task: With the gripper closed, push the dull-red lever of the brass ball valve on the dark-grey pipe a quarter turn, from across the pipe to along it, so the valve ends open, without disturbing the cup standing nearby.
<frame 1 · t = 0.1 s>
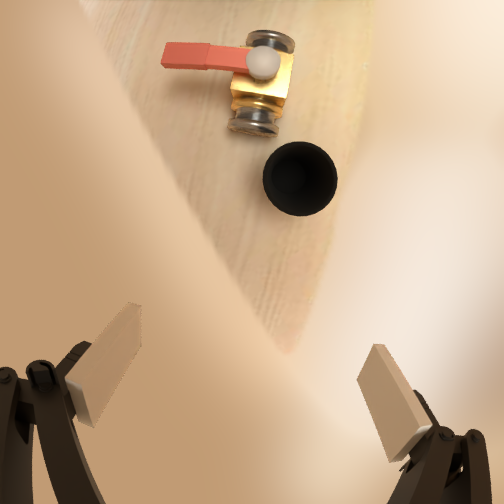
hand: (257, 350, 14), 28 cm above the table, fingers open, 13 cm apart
valve body: (261, 89, 35), on the table
lever: (220, 57, 25), point 11 cm above the table, hinge at 0.0°
cup: (288, 176, 39), on the table
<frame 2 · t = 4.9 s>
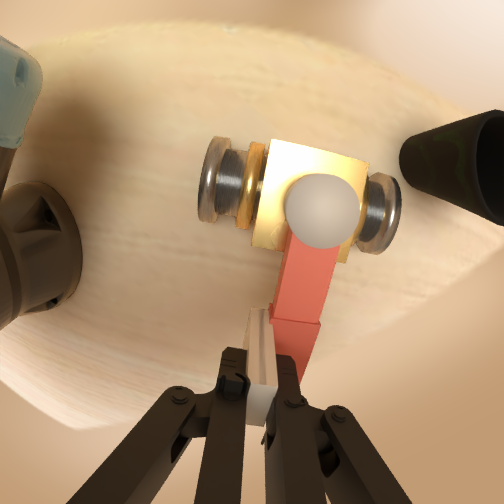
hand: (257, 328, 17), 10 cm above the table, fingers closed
valve body: (294, 191, 24), on the table
lever: (300, 292, 15), point 11 cm above the table, hinge at 0.5°, touching gripper
cup: (421, 162, 23), on the table
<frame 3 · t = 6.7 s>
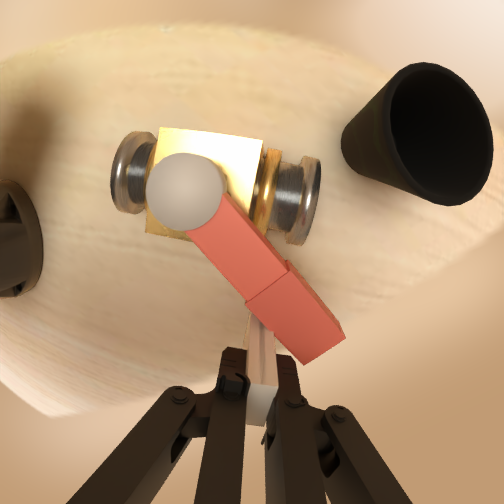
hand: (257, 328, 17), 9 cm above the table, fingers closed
valve body: (222, 182, 24), on the table
lever: (249, 261, 14), point 11 cm above the table, hinge at 50.9°, touching gripper
cup: (369, 146, 22), on the table
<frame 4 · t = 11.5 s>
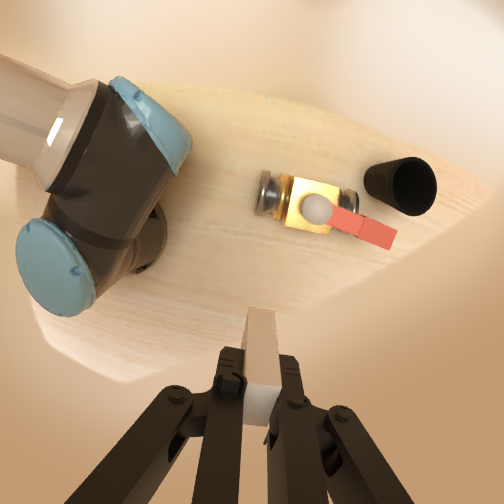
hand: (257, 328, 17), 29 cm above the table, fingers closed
valve body: (302, 199, 43), on the table
lever: (349, 222, 33), point 11 cm above the table, hinge at 82.0°
cup: (378, 181, 42), on the table
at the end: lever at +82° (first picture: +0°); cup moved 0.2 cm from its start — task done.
